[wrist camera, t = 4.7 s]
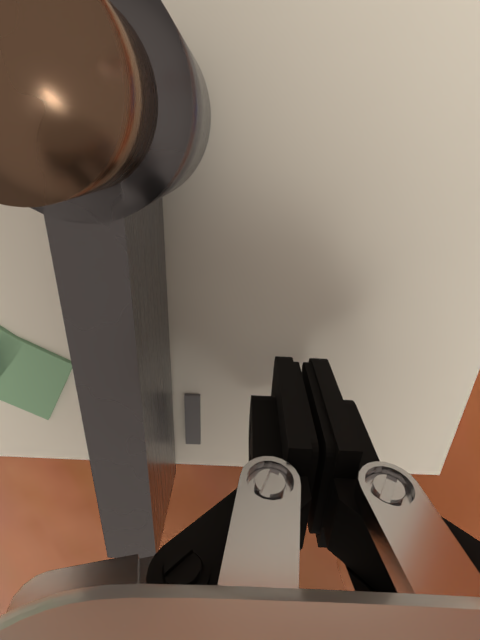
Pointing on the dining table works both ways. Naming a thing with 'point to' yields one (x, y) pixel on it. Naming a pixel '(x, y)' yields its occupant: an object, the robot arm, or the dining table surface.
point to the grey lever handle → (107, 220)
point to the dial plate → (295, 233)
